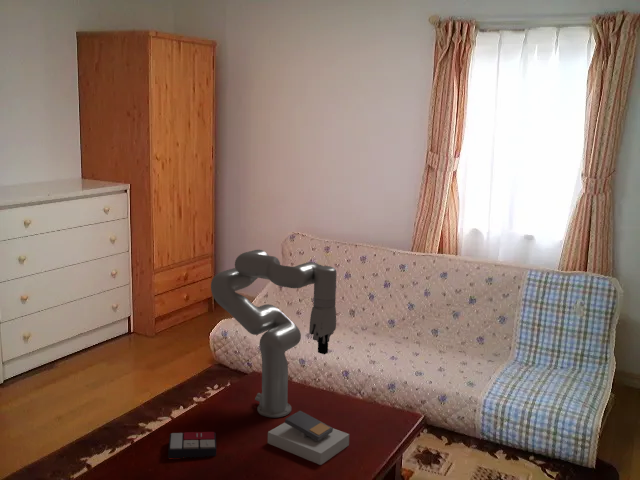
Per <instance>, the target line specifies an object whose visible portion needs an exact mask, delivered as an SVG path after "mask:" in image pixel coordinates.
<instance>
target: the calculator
mask: <svg viewBox="0 0 640 480" xmlns="http://www.w3.org/2000/svg"><path fill="white" fill-rule="evenodd" d="M216 435H217V434H216V432H215V431H192V432H191V431H189V432H188V431H187V432H186V431H185V432H172V433H169V440H168V448H167V449H168V451H167V452H168V453H167V454H168V455H167V459H168V458H183V457H184V458H183V459H187V458H186V457H190V458H189V459H197V458H196V457H200V458H210V457H209V456H214V457H216V456H217V438H216ZM205 456H207V457H205ZM192 457H194V458H192Z"/></svg>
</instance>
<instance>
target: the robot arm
mask: <svg viewBox="0 0 640 480" xmlns="http://www.w3.org/2000/svg"><path fill="white" fill-rule="evenodd" d="M258 278H259V279H263V280H269V281H270V282H271V283H273V284H274V285H276V286H278V287H283V288H289V289H301V288H304V287H306V286H309V285H313V304H312V305H313V306H312V307H311V308H312V309H311V310H310V311H311V313H310V316H309V317H310V318H309V327H308V329H309V331H308V332H309V335H312V340H313V341H316V342H317V353H318V354H322V355H326V354H328V353H329V342H330V337H331V335H333V334H334V333H335V331H336V328H337V310H336V309H337V308H336V295H337V294H336V293H337V270H336V268H335V267H334V266H333V267H332V266H328V265H322V264H320V263H317V262H313V261H308V262H304V263H302V264H298V265H295V266H288V265H283V264H281V262H280V260H279V258H278V257H276V256H271V255H269V254H268V253H267V252H266V251H265V250H263V249H254V250H250V251H246V252H242V253H240V254H239V255H237V257H236V259H235V261H234V267H233V268H229V269H226V270H223V271H221V272H219V273H217V274H216V275H214V277H213V278H212V280H211V281H210V290H211V295H212V297H213V299H214V300H215V303H217V304H218V305H219V306H220V307H221V308H222V309H223V310H224V311H226V312H227V313H228V314H229V315H230V316H231V317H233V318H234V320H236V321H237V323H239V324H240V325H241V326H242V327H243V328H244V329H245V330H246V331H247V332H248V333H249V334H251V335H254V336H255V335H260V334H262V333H263V334H262V336H261V337H260V339H259V349H260V354H261V355H260V356H261V393H260V392H257V394H256V396H255V398H254V400H255V401H257V402H259V405H258V406H257V413H258V414H259V415H260V416H263V417H266V418H270V419H271V418H273V419H274V418H276V419H277V418H282V417H285V416H288V415H289V414H291V412H292V405H291V404H290V403H288V391H289V389H288V387H289V386H288V385H289V384H288V383H289V363H288V359H287V357H286V355H285V354H286V352H287V351H288V350H291V349H292V348H295V346H298V344H299V343H300V342H301V338H302V333H301V331H300V328H299V327H298V326H297V325H296V324H295V322H293V320H291V319H290V318H289V317H288V316H287V315H286V314H285V313H284V312H283V311H282V310H281V309H279V308H278V306H275V305H273V304H270V303H269V304H267V303H266V304H263V305H260V306H256V305H255V304H254V303H252V302H251V301H250V299H248V298H247V297H246V296H244V295H242V294H241V293H237V291H240V290H242V289H246V288H248V287H249V286H251V285H252V284H253V283H254V282H255V281H256V280H257V279H258Z"/></svg>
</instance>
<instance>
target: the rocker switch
mask: <svg viewBox="0 0 640 480" xmlns="http://www.w3.org/2000/svg"><path fill="white" fill-rule="evenodd" d="M284 423H286V424H288V425H290V426H292V427H293V428H295V429H297V430H299V431H300V432H302V433H304V434H306V435H308V436H309V437H311V438H313V439H315V440H317V441H319V440H321V439H322V438H324V437H325V436H327V435H328V434H330V433H332V431H333V427H332V426H330V425H328V424H326V423H324V422H322V421H320V420H319V419H317V418H315V417H313V416H312V415H310V414H308V413H306V412H304V411H302V410H298V411H297V412H295V413H293V414H291V415H289V416H288V417H286V418H285V420H284Z"/></svg>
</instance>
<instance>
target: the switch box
mask: <svg viewBox="0 0 640 480" xmlns="http://www.w3.org/2000/svg"><path fill="white" fill-rule="evenodd" d="M332 428H333V427H332ZM267 444H268V445H271V446H274V447H275V448H279V449H281V450H283V451H285V452H288V453H290V454H293V455H296V456H298V457H300V458H302V459H305V460H307V461H310V462H311V463H315V464H317V465H319V466H322V465H323V464H325V463H326V462H328V461H329V460H331V459H332V458H333V457H335V456H336V455H337V454H339V453H340V452H342V451H343V450H344V449H346V448H347V447H349V445H350V433H347V432H345V431H341V430H339V429H336V428H333V431H332V433H330V434H328V435H327V436H325V437H324V438H322V439H321V440H319V441H317V440H315V439H313V438H311V437H309V436H308V435H306V434H304V433H302V432H300V431H299V430H297V429H295V428H293V427H292V426H290V425H288V424H286V423H285V422H283V423H281V424H280V425H278V426H276V427H275V428H272V429H271V430H268V432H267Z"/></svg>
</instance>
